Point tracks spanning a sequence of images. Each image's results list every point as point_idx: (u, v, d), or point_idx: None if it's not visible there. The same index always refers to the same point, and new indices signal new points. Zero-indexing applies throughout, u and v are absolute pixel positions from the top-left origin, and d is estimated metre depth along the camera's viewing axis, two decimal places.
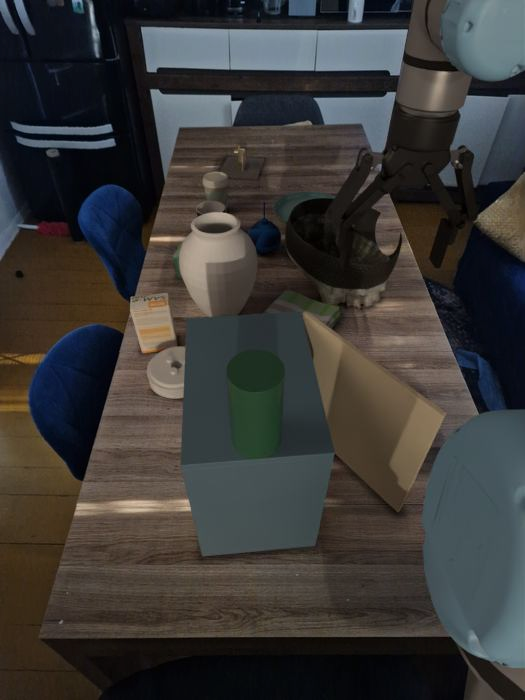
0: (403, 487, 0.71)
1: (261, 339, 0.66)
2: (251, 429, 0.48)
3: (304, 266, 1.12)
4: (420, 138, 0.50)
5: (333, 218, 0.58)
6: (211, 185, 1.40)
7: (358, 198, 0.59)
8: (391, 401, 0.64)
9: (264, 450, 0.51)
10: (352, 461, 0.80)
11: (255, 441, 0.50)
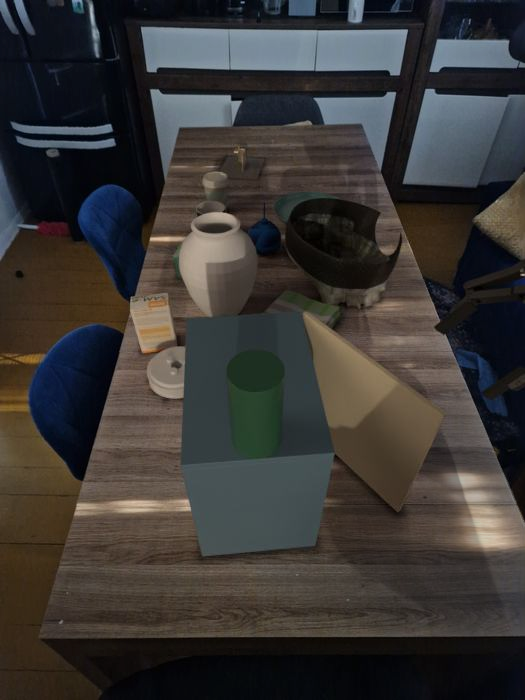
0: (403, 487, 0.71)
1: (261, 339, 0.66)
2: (251, 429, 0.48)
3: (304, 265, 1.12)
4: None
5: (469, 282, 0.71)
6: (212, 185, 1.40)
7: None
8: (391, 401, 0.64)
9: (264, 450, 0.51)
10: (352, 461, 0.80)
11: (255, 441, 0.50)
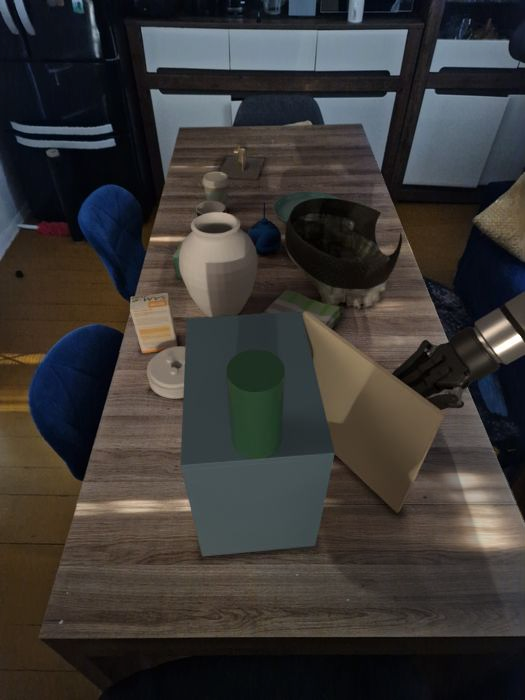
0: (402, 487, 0.71)
1: (261, 339, 0.66)
2: (251, 429, 0.48)
3: (304, 265, 1.12)
4: (458, 336, 0.66)
5: None
6: (212, 185, 1.40)
7: None
8: (390, 401, 0.63)
9: (264, 450, 0.51)
10: (352, 461, 0.80)
11: (255, 441, 0.50)
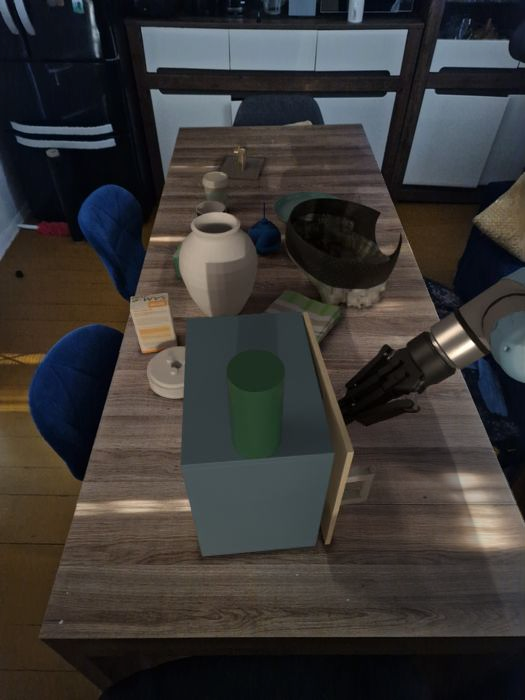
0: (328, 518, 0.67)
1: (261, 339, 0.66)
2: (251, 429, 0.48)
3: (304, 265, 1.12)
4: (414, 340, 0.66)
5: (349, 382, 0.74)
6: (212, 185, 1.40)
7: None
8: (329, 423, 0.61)
9: (264, 450, 0.51)
10: None
11: (255, 441, 0.50)
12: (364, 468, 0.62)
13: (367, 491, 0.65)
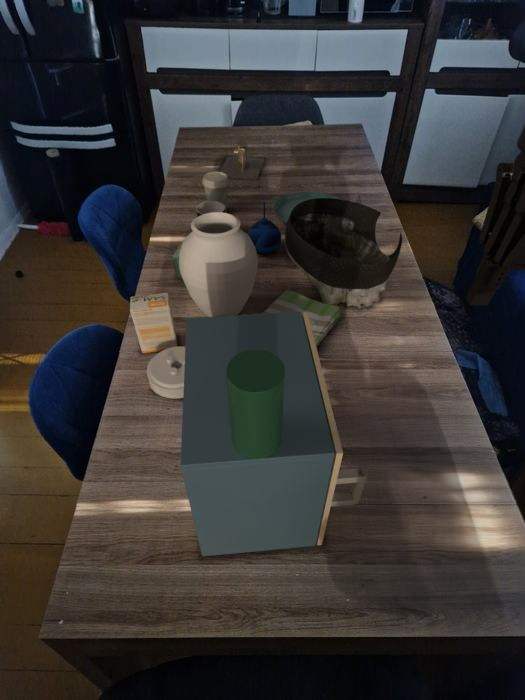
0: None
1: (261, 339, 0.66)
2: (251, 429, 0.48)
3: (304, 265, 1.12)
4: (522, 131, 0.48)
5: (481, 235, 0.59)
6: (212, 185, 1.40)
7: None
8: None
9: (264, 450, 0.51)
10: None
11: (255, 441, 0.50)
12: (356, 470, 0.62)
13: (359, 494, 0.64)
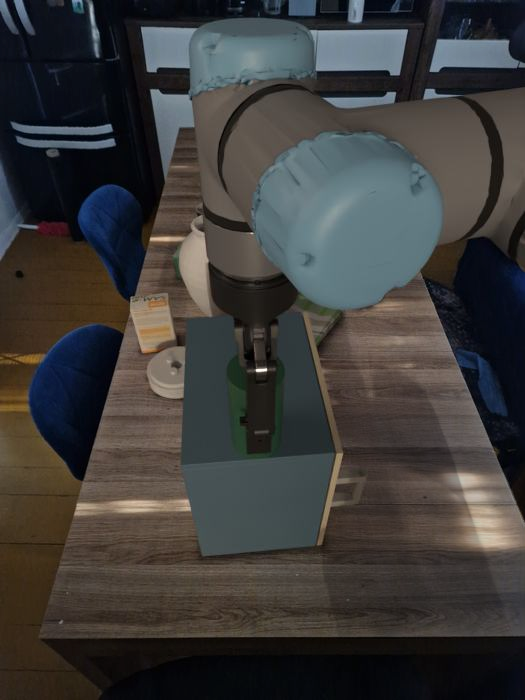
0: None
1: None
2: None
3: None
4: None
5: None
6: None
7: None
8: None
9: None
10: None
11: None
12: (356, 470, 0.62)
13: (359, 494, 0.64)
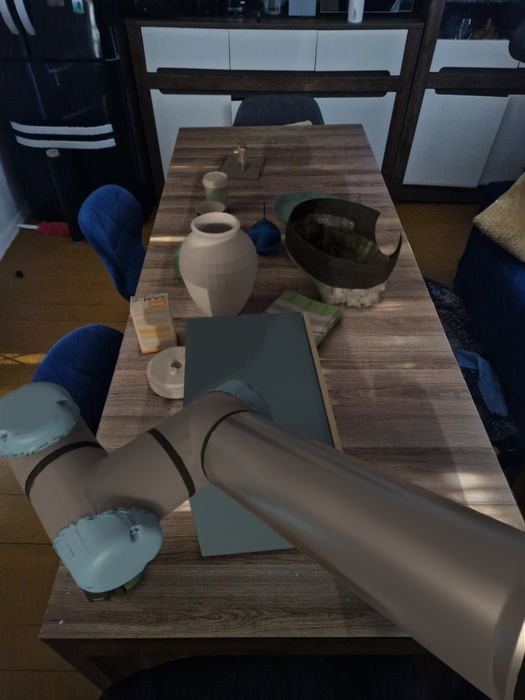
0: None
1: (261, 339, 0.66)
2: None
3: (304, 265, 1.12)
4: None
5: None
6: (212, 185, 1.40)
7: None
8: None
9: None
10: None
11: None
12: None
13: None
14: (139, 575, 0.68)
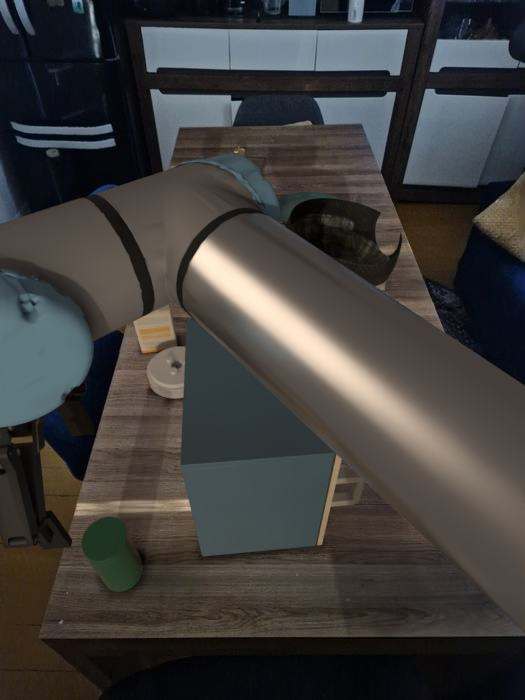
0: None
1: None
2: (106, 577, 0.63)
3: None
4: None
5: None
6: None
7: None
8: None
9: (123, 587, 0.66)
10: None
11: (113, 583, 0.64)
12: None
13: (359, 494, 0.64)
14: (139, 575, 0.68)
